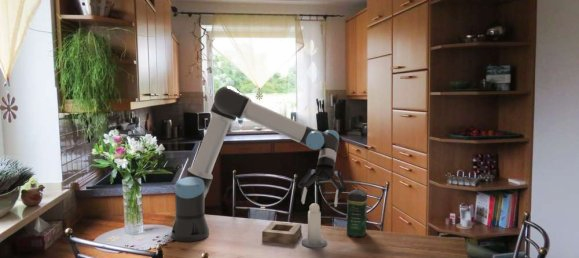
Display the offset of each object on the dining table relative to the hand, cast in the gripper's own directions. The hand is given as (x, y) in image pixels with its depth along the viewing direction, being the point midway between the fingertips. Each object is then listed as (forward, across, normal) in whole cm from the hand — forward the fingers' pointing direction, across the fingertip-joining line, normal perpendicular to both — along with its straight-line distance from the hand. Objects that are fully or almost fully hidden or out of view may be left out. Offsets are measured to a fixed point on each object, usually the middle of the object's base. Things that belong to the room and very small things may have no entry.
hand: (318, 203), depth 168 cm
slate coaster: (+14, 0, -6) cm, 16 cm away
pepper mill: (+14, 0, -6) cm, 15 cm away
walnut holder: (+12, +14, -8) cm, 21 cm away
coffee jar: (+3, -14, -18) cm, 23 cm away
